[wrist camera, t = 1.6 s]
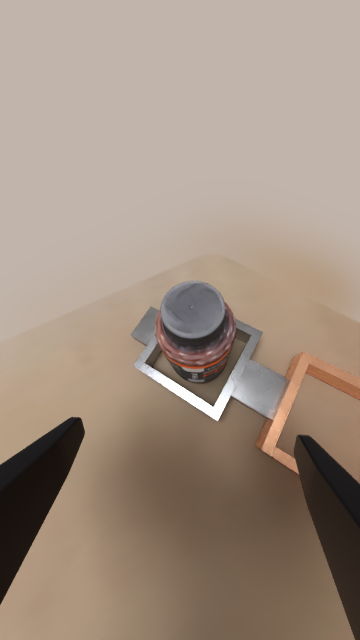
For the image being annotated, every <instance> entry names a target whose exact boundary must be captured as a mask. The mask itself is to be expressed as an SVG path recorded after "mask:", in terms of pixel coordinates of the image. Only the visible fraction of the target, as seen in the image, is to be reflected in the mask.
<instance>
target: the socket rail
mask: <svg viewBox="0 0 360 640" xmlns="http://www.w3.org/2000/svg"><path fill="white" fill-rule="evenodd" d="M158 313H159V311H158V310H157V309H155V308H153V307H150V309H149V310H148V311H147V313H146V314H145V316H144V317H143V318H142V320H141V321H140V322H139V324H138V325H137V327H136V328H135V329H134V331H133V332H132V334H131V336H132V337H133V338H134V339H136V340H138V341H139V342H141V343H143V344H144V345H146V348H145V349H144V351H143V352H142V354H141V355H140V357H139V358H138V360H137V361H136V362H135V364H134V365H133V366H134V367H136V368H137V369H139V370H140V371H142V372H143V373H145V374H146V375H148V376H149V377H151V378H153V379H154V380H156V381H157V382H159V383H160V384H162V385H163V386H165V387H166V388H168V389H169V390H171V391H172V392H174V393H175V394H177V395H178V396H180V397H181V398H183V399H185V400H186V401H188V402H189V403H191V404H192V405H194V406H195V407H197V408H198V409H200V410H201V411H203V412H204V413H206V414H207V415H209V416H210V417H212V418H213V419H215V420H217V421H218V420H219V418H220V416H221V414H222V412H223V410H224V408H225V406H226V404H227V402H228V400H229V398H230V397H232V398H234V399H235V400H237V401H239V402H240V403H242V404H244V405H245V406H247V407H249V408H250V409H252V410H253V411H255V412H257V413H258V414H260V415H262V416H263V417H265V418H267V420H266V422H265V424H264V426H263V429H262V431H261V433H260V436H259V438H258V440H257V442H256V445H255V446H256V447H258V448H259V449H261V450H262V451H264V452H265V453H267V454H268V455H270V456H271V457H273V458H274V459H276V460H278V461H279V462H281V463H282V464H284V465H285V466H287V467H288V468H290V469H291V470H293V471H294V472H296V473H297V474H299V472H298V468H297V464H296V460H295V459H294V458H293V457H291V456H290V455H288V454H286V453H285V452H283V451H282V450H280V449H279V448H277V447H276V443H277V441H278V438H279V436H280V434H281V431H282V429H283V426H284V424H285V421H286V419H287V416H288V414H289V412H290V409H291V407H292V404H293V402H294V399H295V397H296V395H297V392H298V390H299V387H300V385H301V382H302V380H303V378H304V375H305V373H308V374H310V375H311V376H313V377H315V378H317V379H319V380H321V381H323V382H325V383H327V384H329V385H331V386H333V387H335V388H337V389H339V390H341V391H343V392H345V393H347V394H349V395H351V396H353V397H355V398H357V399H359V400H360V378H358V377H356V376H354V375H351V374H349V373H347V372H345V371H343V370H341V369H339V368H337V367H335V366H333V365H331V364H328V363H326V362H324V361H322V360H320V359H318V358H316V357H314V356H312V355H310V354H308V353H305V352H302V353H300V354H299V355H297V356H296V357H294V358H293V360H292V363H291V365H290V367H289V369H288V372H287V374H286V376H285V377H283V376H281V375H280V374H278V373H276V372H274V371H272V370H270V369H268V368H266V367H264V366H263V365H261V364H259V363H257V362H255V361H253V360H251V359H249V358H250V356H251V354H252V353H253V351H254V349H255V347H256V345H257V343H258V341H259V339H260V337H261V335H262V333H263V332H262V331H259V330H257V329H255V328H253V327H251V326H249V325H247V324H245V323H243V322H241V321H239V320H236V319H235V322H236V335H235V337H236V338H238V339H240V340H242V341H244V342H246V343H247V344H246V346H245V348H244V350H243V352H242V354H241V356H240V358H239V360H238V362H237V363H236V365H235V367H234V369H233V371H232V373H231V375H230V377H229V379H228V381H227V383H226V384H225V386H224V388H223V390H222V392H221V394H220V396H219V398H218V400H217V402H216V404H215V405H214V407H213V406H211V405H210V404H208V403H206V402H205V401H203V400H202V399H200V398H199V397H197V396H195V395H194V394H192V393H191V392H189V391H188V390H186V389H185V388H183V387H181V386H180V385H178V384H177V383H175V382H174V381H172V380H170V379H169V378H167V377H166V376H164V375H163V374H161V373H159V372H158V371H156V370H155V369H153V368H152V365H153V364H154V362H155V361H156V359H157V358H158V356H159V354H160V353H161V351H162V350H161V348H160V347H159V345H158V342H157V339H156V334H155V323H156V318H157V316H158Z"/></svg>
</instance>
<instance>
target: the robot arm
mask: <svg viewBox="0 0 360 640" xmlns="http://www.w3.org/2000/svg"><path fill="white" fill-rule="evenodd" d="M84 434H85V430H84V426H83V423H82V419H81V418H79V417H71V418H69V419H67V420H66V421H64V422H63V423H61V424H60V425H59V426H57V427H56V428H54V429H53V430H51V431H50V432H48V433H47V434H45V435H44V436H42V437H41V438H39V439H38V440H36V441H35V442H33V443H32V444H30V445H29V446H27V447H26V448H25V449H23V450H22V451H20V452H19V453H17V454H16V455H14V456H13V457H11V458H10V459H8V460H7V461H5V462H4V463H2V464H1V465H0V605H1V603H2V601H3V599H4V597H5V595H6V593H7V591H8V589H9V587H10V585H11V583H12V582H13V580H14V578H15V576H16V574H17V572H18V570H19V568H20V566H21V564H22V562H23V560H24V558H25V557H26V555H27V553H28V551H29V549H30V547H31V545H32V543H33V541H34V539H35V537H36V535H37V533H38V532H39V530H40V528H41V526H42V524H43V522H44V520H45V518H46V516H47V514H48V512H49V510H50V509H51V507H52V505H53V503H54V501H55V499H56V497H57V495H58V493H59V491H60V489H61V487H62V485H63V484H64V482H65V480H66V478H67V476H68V474H69V471H70V469H71V467H72V464H73V462H74V460H75V457H76V455H77V452H78V450H79V447H80V445H81V443H82V440H83V438H84ZM294 456H295V460H296V464H297V468H298V472H299V476H300V480H301V484H302V488H303V491H304V495H305V499H306V503H307V506H308V509H309V511H310V514H311V517H312V520H313V523H314V526H315V528H316V531H317V534H318V537H319V540H320V542H321V545H322V548H323V551H324V554H325V556H326V559H327V562H328V565H329V568H330V570H331V573H332V576H333V579H334V582H335V584H336V587H337V590H338V593H339V596H340V598H341V601H342V604H343V607H344V610H345V612H346V615H347V618H348V621H349V624H350V626H351V629H352V632H353V635H354V638H355V640H360V484H359V483H358V482H357V481H356V480H355V479H354V478H353V477H352V476H351V475H350V474H349V473H348V472H347V471H346V470H345V469H344V468H343V467H342V466H341V465H340V464H338V463H337V462H336V461H335V460H334V459H333V458H332V457H331V456H330V455H329V454H328V453H327V452H326V451H325V450H324V449H323V448H322V447H321V446H320V445H319V444H318V443H317V442H316V441H315V440H314V439H313V438H312V437H310V436H308V435H297V437H296V442H295V447H294Z"/></svg>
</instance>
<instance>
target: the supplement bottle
mask: <svg viewBox="0 0 360 640" xmlns="http://www.w3.org/2000/svg"><path fill="white" fill-rule="evenodd" d="M155 334H156V339H157V342H158V345H159V347H160V348H161V350H162V352H163V353H164V355H165V356H166V358H167V359H168V361H169V362H170V364H171V365H172V367H173V368H174V370H175V371H176V372H177V374H179V375H180V376H181V377H182V378H184V379H185V380H187V381H190V382H194V383H204V382H208V381H210V380H212V379H214V378H215V377H217V376H218V375H219V374H220V373H221V372H222V370H223V369H224V367H225V365H226V362H227V359H228V356H229V354H230V351H231V348H232V345H233V342H234V339H235V335H236V322H235V318H234V316H233V313H232V311H231V309H230V308H229V306H228V305H227V304H226V303H225V302H224V300H223V297H222V295H221V294H220V292H219V291H218V290H217V289H216V288H214V287H213V286H211V285H209V284H208V283H204V282H201V281H187V282H183V283H180V284H178V285H176V286H174V287H173V288H172V289H170V290H169V291H168V292H167V293H166V295H165V297H164V298H163V300H162V303H161V309H160V311H159V313H158V316H157V318H156V323H155Z"/></svg>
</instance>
